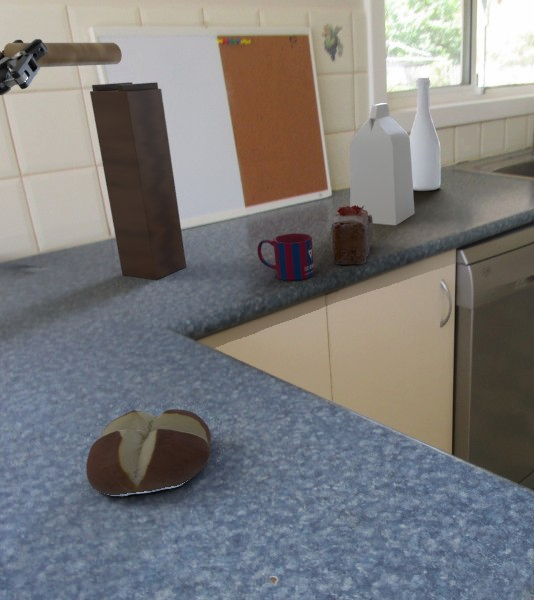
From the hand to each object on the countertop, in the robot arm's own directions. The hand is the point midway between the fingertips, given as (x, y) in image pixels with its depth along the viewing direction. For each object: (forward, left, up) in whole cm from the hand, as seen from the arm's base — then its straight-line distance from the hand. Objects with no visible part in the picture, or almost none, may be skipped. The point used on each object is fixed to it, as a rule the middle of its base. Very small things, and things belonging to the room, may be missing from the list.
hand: (32, 45), depth 103 cm
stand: (+13, 0, -39) cm, 41 cm away
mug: (+34, -14, -39) cm, 54 cm away
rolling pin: (+5, +4, -2) cm, 6 cm away
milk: (+67, +16, -39) cm, 79 cm away
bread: (+5, -65, -39) cm, 76 cm away
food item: (+49, -9, -39) cm, 63 cm away
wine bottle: (+92, +42, -39) cm, 108 cm away
